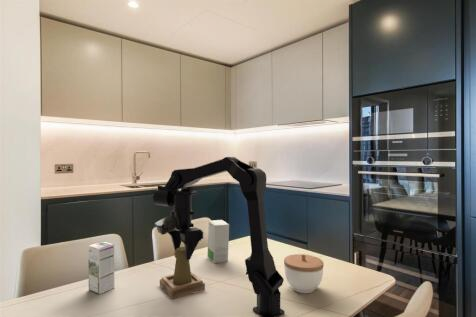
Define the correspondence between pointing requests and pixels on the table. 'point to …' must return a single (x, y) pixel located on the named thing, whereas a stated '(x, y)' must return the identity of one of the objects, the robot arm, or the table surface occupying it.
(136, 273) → the table surface
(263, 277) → the robot arm
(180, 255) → the olive pear-shaped figure
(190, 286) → the square wooden tray
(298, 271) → the lidded bowl
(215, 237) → the skincare box
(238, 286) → the table surface
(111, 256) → the syrup box
